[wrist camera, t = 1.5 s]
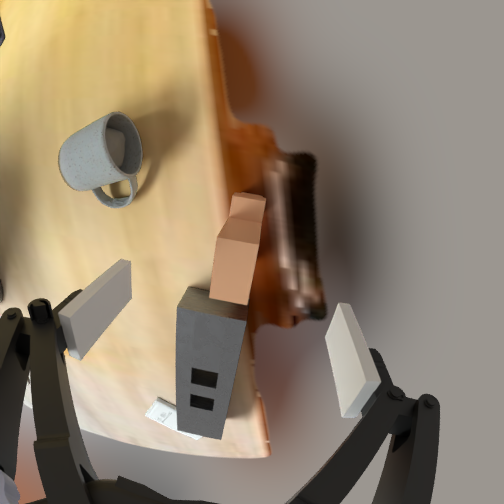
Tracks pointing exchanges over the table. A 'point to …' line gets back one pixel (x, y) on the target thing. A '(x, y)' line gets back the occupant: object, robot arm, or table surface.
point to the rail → (206, 360)
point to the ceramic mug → (103, 157)
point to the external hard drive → (166, 416)
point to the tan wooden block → (237, 249)
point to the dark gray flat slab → (1, 33)
